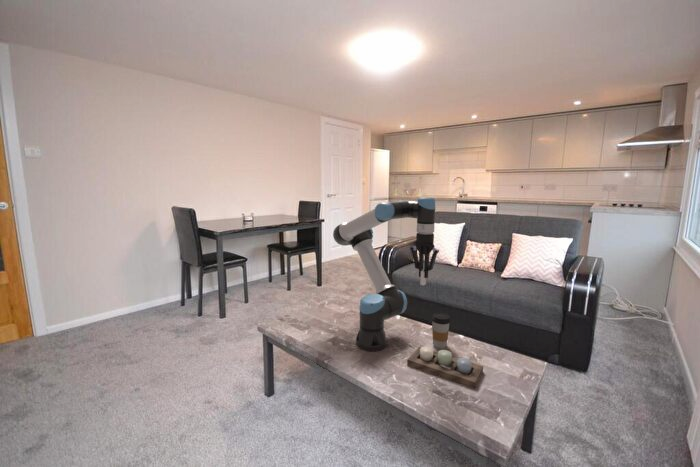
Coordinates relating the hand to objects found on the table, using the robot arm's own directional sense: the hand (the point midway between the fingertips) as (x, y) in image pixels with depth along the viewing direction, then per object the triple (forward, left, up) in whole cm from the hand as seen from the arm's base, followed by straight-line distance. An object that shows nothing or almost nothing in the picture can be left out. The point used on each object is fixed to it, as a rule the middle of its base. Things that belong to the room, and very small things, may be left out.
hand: (423, 284), depth 145 cm
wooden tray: (+14, -8, -32) cm, 36 cm away
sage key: (+14, -8, -29) cm, 33 cm away
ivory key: (+6, -8, -30) cm, 32 cm away
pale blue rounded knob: (+22, -8, -30) cm, 38 cm away
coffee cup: (+6, +9, -32) cm, 34 cm away
